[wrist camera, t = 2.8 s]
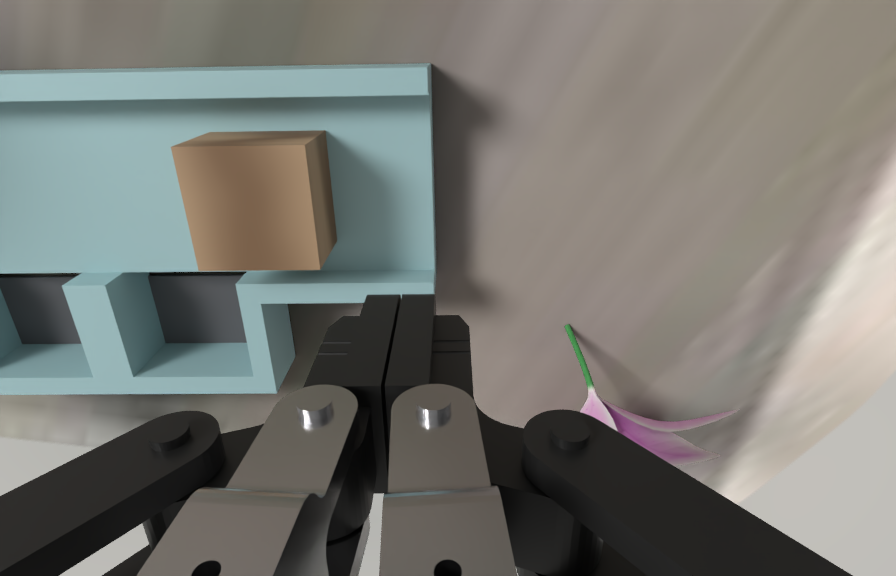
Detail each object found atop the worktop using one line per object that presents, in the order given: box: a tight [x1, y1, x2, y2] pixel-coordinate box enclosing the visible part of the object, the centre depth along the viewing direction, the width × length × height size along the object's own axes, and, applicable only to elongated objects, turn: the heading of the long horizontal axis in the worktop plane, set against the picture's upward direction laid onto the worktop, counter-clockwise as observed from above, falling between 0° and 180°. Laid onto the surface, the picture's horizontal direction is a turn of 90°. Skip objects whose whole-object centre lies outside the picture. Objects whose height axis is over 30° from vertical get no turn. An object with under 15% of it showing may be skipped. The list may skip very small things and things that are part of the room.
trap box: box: [0, 63, 437, 395], centre depth 26 cm, size 28×15×4 cm, turn 91°
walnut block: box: [171, 130, 337, 271], centre depth 23 cm, size 5×5×4 cm
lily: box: [565, 325, 739, 466], centre depth 28 cm, size 12×12×10 cm
